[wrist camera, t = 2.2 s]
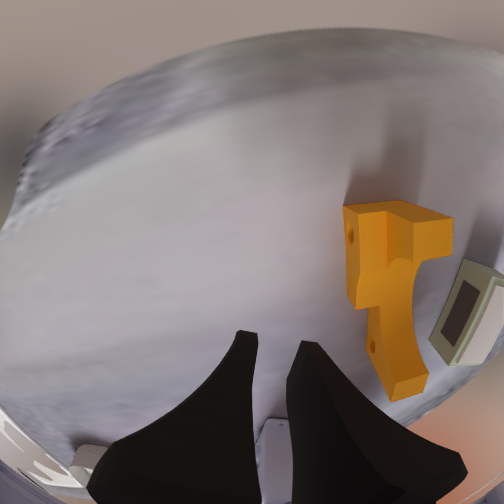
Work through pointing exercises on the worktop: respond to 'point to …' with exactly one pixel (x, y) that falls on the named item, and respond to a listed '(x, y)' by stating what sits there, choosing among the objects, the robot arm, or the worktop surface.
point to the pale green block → (470, 316)
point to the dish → (85, 462)
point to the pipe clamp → (392, 282)
